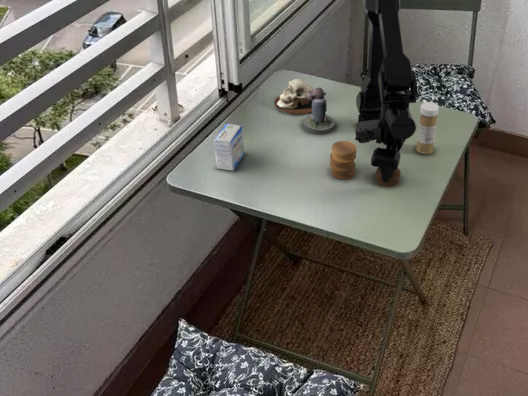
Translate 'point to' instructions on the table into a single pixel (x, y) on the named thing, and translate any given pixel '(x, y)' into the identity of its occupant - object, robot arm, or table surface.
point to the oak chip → (343, 151)
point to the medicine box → (229, 147)
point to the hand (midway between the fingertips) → (388, 171)
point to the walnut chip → (392, 181)
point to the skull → (295, 98)
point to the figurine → (318, 114)
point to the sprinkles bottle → (427, 127)
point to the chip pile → (342, 169)
